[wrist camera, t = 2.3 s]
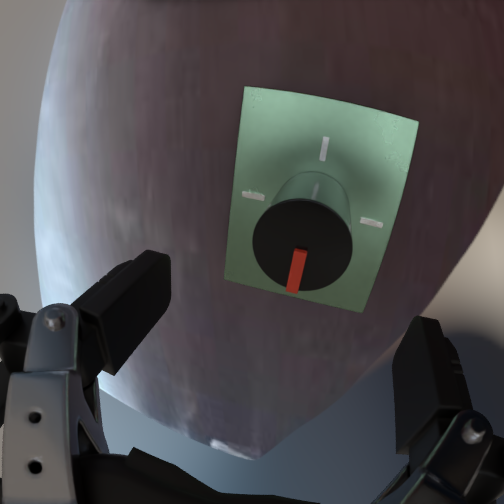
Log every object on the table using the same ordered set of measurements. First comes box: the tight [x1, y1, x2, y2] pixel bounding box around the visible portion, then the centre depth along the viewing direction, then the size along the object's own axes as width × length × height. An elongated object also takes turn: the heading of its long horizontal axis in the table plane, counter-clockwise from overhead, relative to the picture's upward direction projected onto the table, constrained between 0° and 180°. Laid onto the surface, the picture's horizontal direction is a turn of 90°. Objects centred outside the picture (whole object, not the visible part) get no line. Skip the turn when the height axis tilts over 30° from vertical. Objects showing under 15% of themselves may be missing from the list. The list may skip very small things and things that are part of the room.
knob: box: [252, 172, 353, 294], centre depth 16 cm, size 4×4×6 cm
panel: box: [224, 86, 419, 313], centre depth 19 cm, size 13×10×3 cm
